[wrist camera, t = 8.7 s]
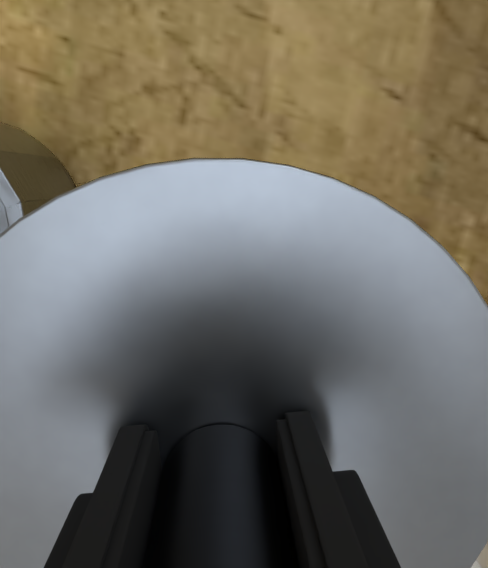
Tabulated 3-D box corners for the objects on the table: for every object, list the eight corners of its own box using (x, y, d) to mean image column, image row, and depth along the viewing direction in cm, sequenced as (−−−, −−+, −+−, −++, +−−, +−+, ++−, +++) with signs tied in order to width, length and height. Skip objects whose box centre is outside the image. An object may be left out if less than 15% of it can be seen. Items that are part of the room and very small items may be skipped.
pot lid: (510, 140, 9) (954, 79, 4) (469, 625, 12) (668, 983, 7) (-132, 181, 9) (-759, 182, 3) (1, 673, 12) (-191, 1097, 6)
